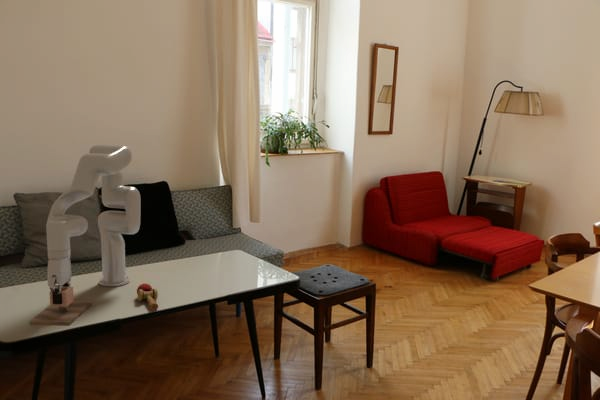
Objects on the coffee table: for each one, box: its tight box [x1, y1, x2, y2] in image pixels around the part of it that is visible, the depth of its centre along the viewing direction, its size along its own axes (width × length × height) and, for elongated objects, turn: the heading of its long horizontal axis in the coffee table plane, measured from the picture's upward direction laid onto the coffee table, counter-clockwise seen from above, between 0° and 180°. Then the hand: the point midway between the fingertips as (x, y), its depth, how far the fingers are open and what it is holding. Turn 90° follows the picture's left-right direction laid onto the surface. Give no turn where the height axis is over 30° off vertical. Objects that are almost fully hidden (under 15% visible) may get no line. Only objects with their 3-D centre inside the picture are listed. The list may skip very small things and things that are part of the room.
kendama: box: [136, 283, 159, 311], centre depth 208 cm, size 8×6×18 cm
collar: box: [48, 286, 75, 307], centre depth 194 cm, size 6×6×6 cm
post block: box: [29, 300, 93, 326], centre depth 195 cm, size 20×14×7 cm
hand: (61, 300), depth 194 cm, fingers open, 6 cm apart
